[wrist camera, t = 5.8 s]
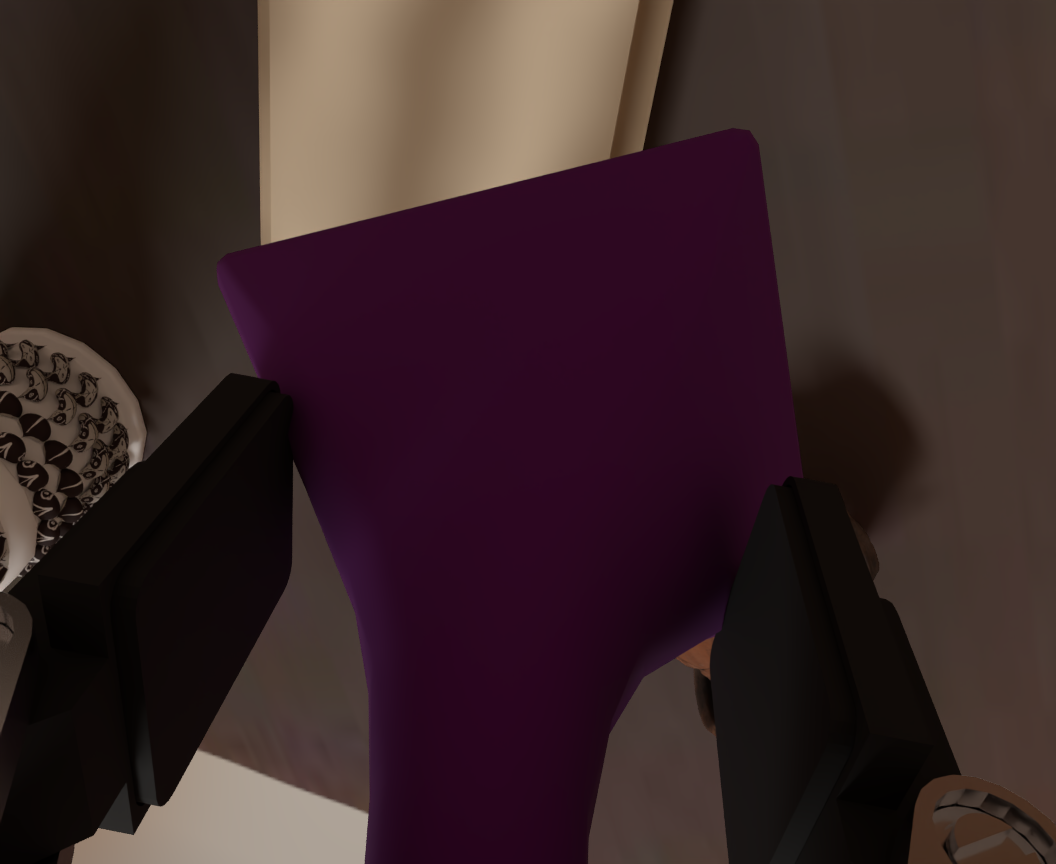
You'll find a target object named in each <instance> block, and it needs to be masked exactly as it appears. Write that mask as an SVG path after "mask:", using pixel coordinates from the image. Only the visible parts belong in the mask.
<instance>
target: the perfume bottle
mask: <svg viewBox="0 0 1056 864" xmlns="http://www.w3.org/2000/svg"><path fill="white" fill-rule="evenodd" d="M217 278H218V285H219V287H220V290H221V292H222V294H223V297H224V299H225V301H226V304H227V306H228V308H229V311H230V313H231V315H232V318H233V320H234V322H235V325H236V327H237V329H238V332H239V334H240V336H241V339H242V341H243V343H244V346H245V348H246V350H247V353H248V355H249V357H250V360H251V362H252V364H253V367H254V369H255V371H256V374H257V376H258V378H262V379H267V380H272V381H276V382H277V383H278V384H279V388H280V393H281V394H286V395H290V396H291V397H292V400H293V413H292V417H291V422H290V427H289V431H288V439H289V442H290V446H291V450H292V454H293V460H294V463H295V465H296V467H297V470H298V472H299V474H300V477H301V479H302V481H303V484H304V486H305V488H306V491H307V493H308V496H309V498H310V501H311V503H312V506H313V508H314V511H315V513H316V516H317V518H318V521H319V523H320V526H321V528H322V531H323V533H324V536H325V538H326V541H327V543H328V546H329V548H330V551H331V553H332V556H333V558H334V561H335V563H336V566H337V568H338V571H339V573H340V576H341V578H342V581H343V583H344V586H345V588H346V591H347V593H348V596H349V598H350V601H351V603H352V606H353V608H354V611H355V614H356V620H357V626H358V632H359V638H360V644H361V650H362V657H363V663H364V669H365V675H366V681H367V687H368V693H369V766H370V803H369V816H368V828H367V840H366V853H365V864H588V841H589V833H590V828H591V823H592V818H593V813H594V808H595V803H596V798H597V793H598V788H599V783H600V778H601V773H602V768H603V763H604V758H605V753H606V748H607V743H608V738H609V734H610V732H611V730H612V729H613V727H614V725H615V724H616V722H617V720H618V719H619V717H620V715H621V714H622V712H623V710H624V709H625V707H626V705H627V704H628V702H629V700H630V699H631V697H632V695H633V694H634V692H635V690H636V689H637V687H638V685H639V684H640V682H641V680H642V679H643V677H645V676H646V675H648V674H650V673H651V672H653V671H655V670H656V669H658V668H660V667H661V666H663V665H665V664H666V663H668V662H670V661H671V660H673V659H675V658H676V657H678V656H680V655H681V654H683V653H685V652H686V651H688V650H689V649H691V648H693V647H694V646H696V645H698V644H699V643H701V642H703V641H704V640H707V639H709V638H712V637H715V634H716V633H718V632H719V631H721V630H722V626H723V622H724V617H725V612H726V608H727V603H728V599H729V595H730V591H731V588H732V586H733V583H734V580H735V577H736V574H737V571H738V569H739V566H740V563H741V560H742V557H743V554H744V551H745V549H746V546H747V543H748V540H749V537H750V534H751V531H752V529H753V526H754V523H755V520H756V517H757V514H758V511H759V509H760V506H761V503H762V500H763V497H764V495H765V492H766V490H767V488H768V487H769V485H771V484H774V485H779V486H782V485H783V483H784V481H785V480H786V478H788V477H789V476H793V477H799V478H803V472H802V464H801V457H800V449H799V442H798V434H797V427H796V419H795V412H794V404H793V397H792V390H791V382H790V375H789V367H788V360H787V352H786V345H785V337H784V330H783V322H782V315H781V308H780V300H779V293H778V285H777V278H776V270H775V263H774V255H773V248H772V240H771V233H770V226H769V218H768V211H767V203H766V196H765V188H764V181H763V173H762V166H761V158H760V151H759V144H758V143H757V141H756V140H755V138H754V137H753V135H752V133H751V132H750V131H749V130H742V129H735V128H731V129H727V130H723V131H719V132H715V133H711V134H707V135H703V136H699V137H695V138H691V139H687V140H683V141H679V142H675V143H671V144H667V145H663V146H659V147H655V148H651V149H647V150H643V151H639V152H635V153H631V154H627V155H623V156H619V157H615V158H611V159H607V160H603V161H599V162H595V163H591V164H587V165H582V166H578V167H574V168H570V169H566V170H562V171H558V172H554V173H550V174H546V175H542V176H538V177H534V178H530V179H526V180H522V181H518V182H514V183H510V184H506V185H502V186H498V187H494V188H490V189H486V190H482V191H478V192H474V193H470V194H466V195H462V196H458V197H454V198H450V199H446V200H442V201H438V202H434V203H430V204H426V205H422V206H418V207H414V208H410V209H405V210H401V211H397V212H393V213H389V214H385V215H381V216H377V217H373V218H369V219H365V220H361V221H357V222H353V223H349V224H345V225H341V226H337V227H333V228H329V229H325V230H321V231H317V232H313V233H309V234H305V235H301V236H297V237H293V238H289V239H285V240H281V241H277V242H273V243H269V244H265V245H261V246H257V247H253V248H249V249H245V250H241V251H237V252H233V253H228V254H226V255H225V256H224V257H223V258H222V259H221V260H220V261H218V263H217Z"/></svg>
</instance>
